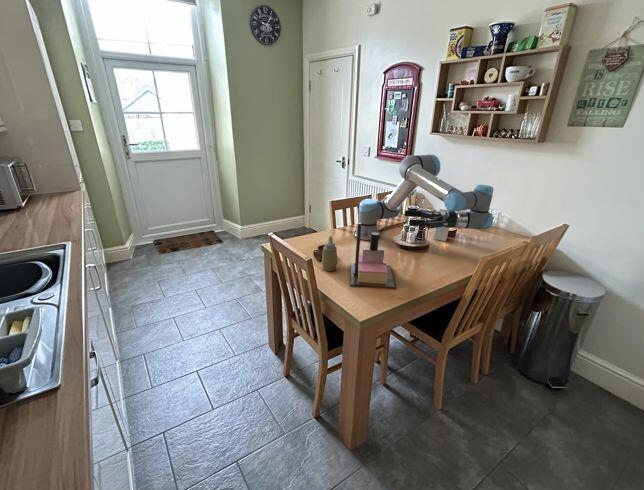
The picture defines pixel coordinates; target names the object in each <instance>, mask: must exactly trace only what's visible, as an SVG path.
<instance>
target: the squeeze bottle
mask: <svg viewBox="0 0 644 490" xmlns="http://www.w3.org/2000/svg"><path fill="white" fill-rule="evenodd" d="M324 245H325V246H324V248H323V255H322V260H321V265H322V267H323V270H324V271H326V272H334V271H335V270H336V268H337V265H338V251H337V249H338V248H337V246H336V242H334V241H333V236H332V235H329V236H328V239H327V241H325V244H324Z"/></svg>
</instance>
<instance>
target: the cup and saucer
mask: <svg viewBox="0 0 644 490" xmlns="http://www.w3.org/2000/svg"><path fill="white" fill-rule="evenodd" d="M324 246H325V244H319V245H318V246H317V249H314V250H313V252H312V255H313V258H315V259H316V260H318V261H322V255H323V248H324Z"/></svg>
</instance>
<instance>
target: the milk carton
mask: <svg viewBox="0 0 644 490" xmlns="http://www.w3.org/2000/svg"><path fill="white" fill-rule="evenodd" d="M447 211H449V210H447V209H443V208H439V211H438V212H441V214H442V215H445V213H446V212H447ZM449 230H450V228H446V227H438V228H435V231H434V236H433V239H434V240H436V241H442V242H447V240H448V235H449Z"/></svg>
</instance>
